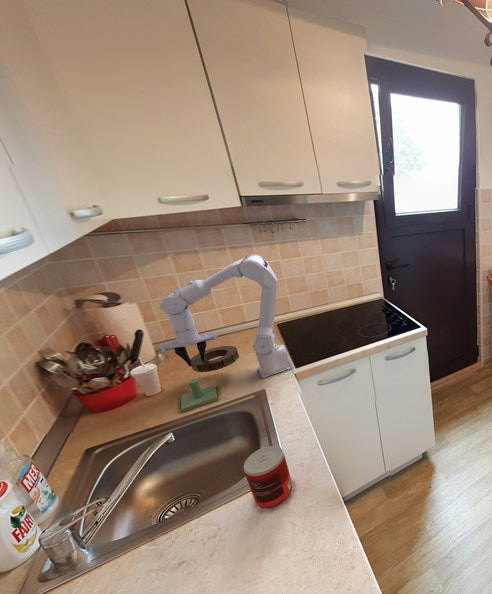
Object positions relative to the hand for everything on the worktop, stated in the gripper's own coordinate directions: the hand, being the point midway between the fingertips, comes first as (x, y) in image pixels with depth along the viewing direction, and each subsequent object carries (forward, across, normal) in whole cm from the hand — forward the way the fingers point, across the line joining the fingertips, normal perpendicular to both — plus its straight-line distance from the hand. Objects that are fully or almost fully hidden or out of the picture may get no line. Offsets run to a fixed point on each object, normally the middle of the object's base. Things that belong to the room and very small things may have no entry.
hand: (197, 363), depth 114 cm
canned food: (+9, -11, +65) cm, 67 cm away
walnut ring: (+1, -5, 0) cm, 5 cm away
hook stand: (+9, +2, +9) cm, 13 cm away
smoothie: (+9, +14, -6) cm, 17 cm away
